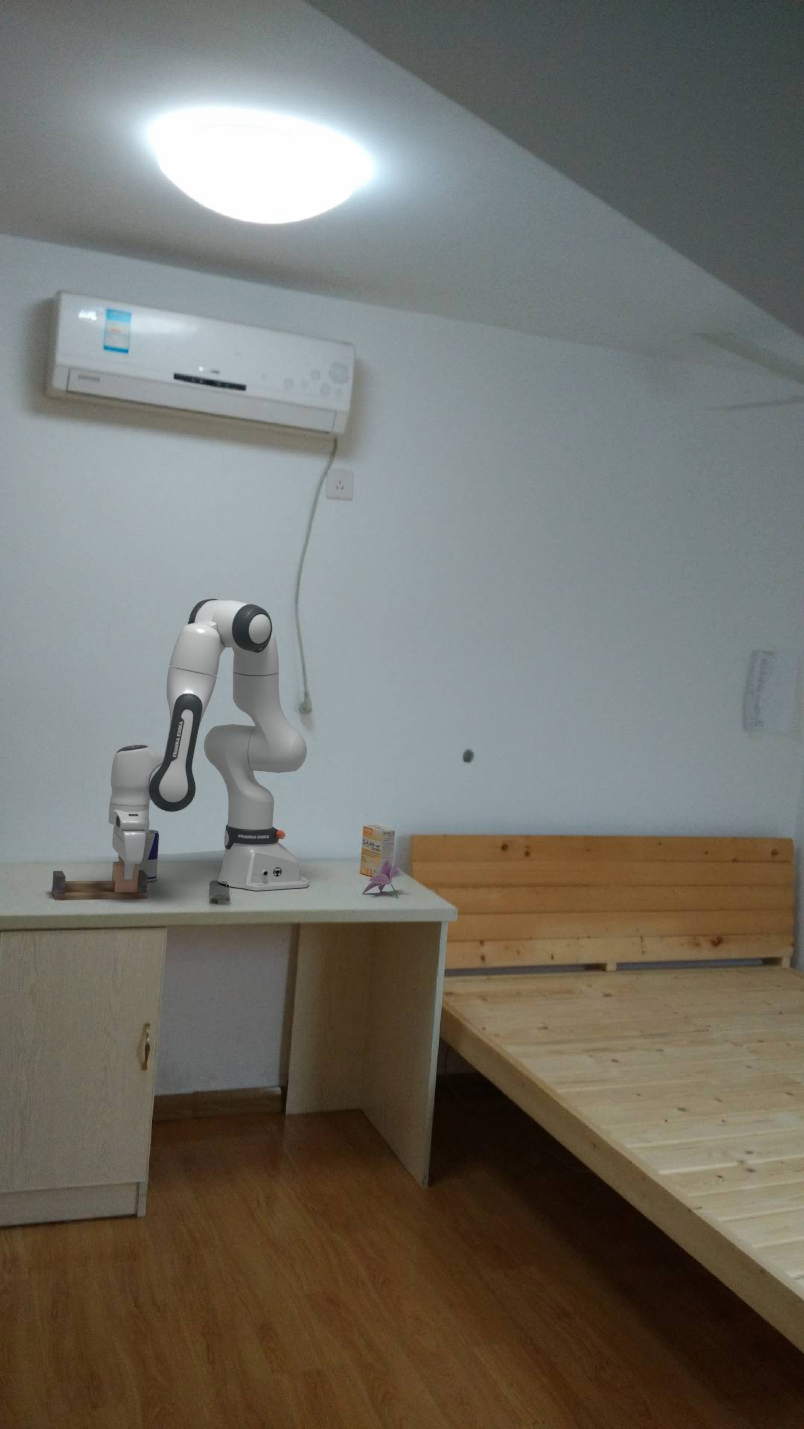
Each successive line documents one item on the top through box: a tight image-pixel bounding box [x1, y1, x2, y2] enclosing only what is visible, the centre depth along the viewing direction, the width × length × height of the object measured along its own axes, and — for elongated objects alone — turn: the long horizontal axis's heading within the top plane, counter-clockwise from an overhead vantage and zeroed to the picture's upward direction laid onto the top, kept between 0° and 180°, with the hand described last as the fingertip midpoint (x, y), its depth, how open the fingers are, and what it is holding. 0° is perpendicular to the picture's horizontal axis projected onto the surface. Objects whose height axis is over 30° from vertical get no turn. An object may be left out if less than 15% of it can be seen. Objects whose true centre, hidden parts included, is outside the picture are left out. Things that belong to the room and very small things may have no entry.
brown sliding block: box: [111, 861, 139, 893], centre depth 254 cm, size 5×5×6 cm
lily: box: [362, 859, 405, 899], centre depth 273 cm, size 12×12×10 cm
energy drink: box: [138, 828, 160, 883], centre depth 270 cm, size 5×5×12 cm
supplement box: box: [359, 824, 396, 878], centre depth 296 cm, size 8×5×13 cm, turn 42°
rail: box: [51, 870, 148, 901], centre depth 252 cm, size 20×8×5 cm, turn 113°
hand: (125, 875), depth 254 cm, fingers closed on brown sliding block, 5 cm apart
